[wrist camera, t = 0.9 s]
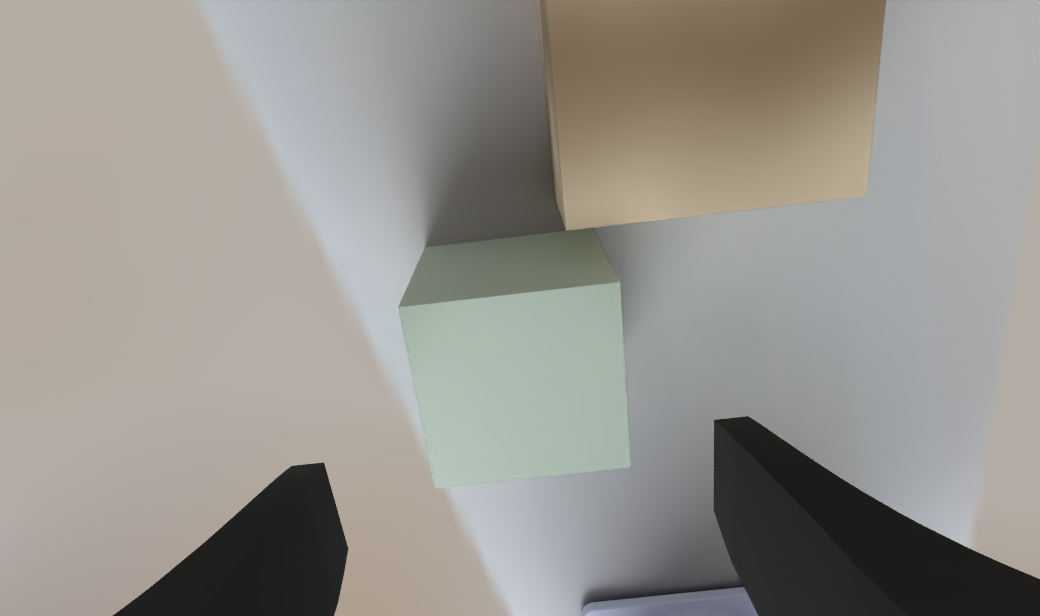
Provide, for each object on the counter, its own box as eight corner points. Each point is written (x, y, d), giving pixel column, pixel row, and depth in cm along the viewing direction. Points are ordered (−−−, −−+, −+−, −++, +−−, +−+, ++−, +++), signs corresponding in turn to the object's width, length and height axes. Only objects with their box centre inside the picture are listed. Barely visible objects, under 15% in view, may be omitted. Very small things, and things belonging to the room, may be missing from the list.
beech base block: (792, 168, 18) (866, 196, 14) (554, 196, 18) (566, 230, 14) (806, -113, 15) (901, -169, 12) (529, -77, 16) (535, -121, 12)
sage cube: (602, 374, 20) (630, 467, 15) (451, 391, 20) (434, 488, 16) (590, 227, 18) (620, 281, 14) (425, 246, 18) (398, 307, 14)
